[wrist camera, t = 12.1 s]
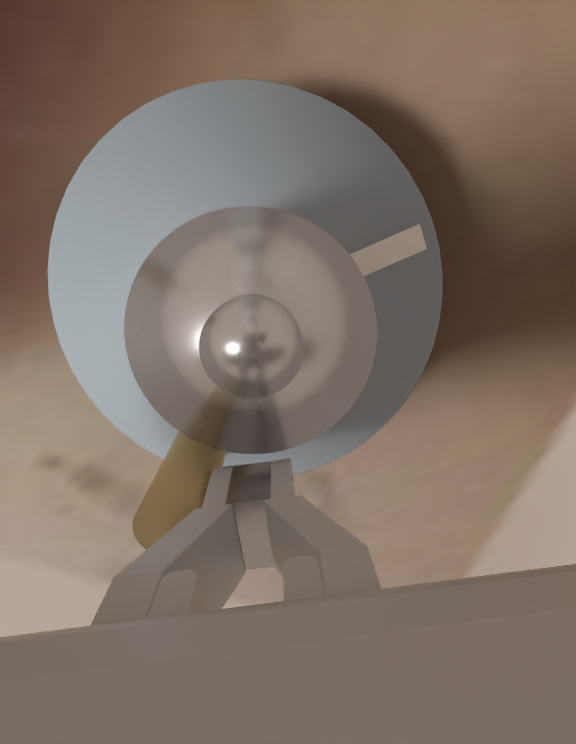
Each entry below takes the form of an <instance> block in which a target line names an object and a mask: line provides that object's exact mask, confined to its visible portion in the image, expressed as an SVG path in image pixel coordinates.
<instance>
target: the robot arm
mask: <svg viewBox="0 0 576 744" xmlns="http://www.w3.org/2000/svg"><path fill="white" fill-rule="evenodd" d="M266 567H274V568H275V570H276V571H277V573H278V574H279V575H280V577H281V578H282V579H283V581H284V601H282V602H274V603H266V604H259V605H251V606H243V607H235V608H227V609H222V607H223V606H224V604H225V603H226V601H227V600H228V598H229V597H230V595H231V594H232V592H233V591H234V589H235V588H236V586H237V584H238V583H239V581H240V580H241V578H242V577H243V575H244V574H245V570H251V569H257V568H266ZM0 744H576V564H572V565H564V566H556V567H549V568H541V569H533V570H525V571H517V572H509V573H501V574H494V575H486V576H478V577H470V578H462V579H454V580H447V581H439V582H431V583H423V584H415V585H407V586H399V587H392V588H384V589H381V586H380V583H379V580H378V577H377V574H376V571H375V568H374V565H373V562H372V559H371V556H370V553H369V550H368V547H367V546H366V545H365V544H364V543H362V542H361V541H360V540H358V539H357V538H356V537H354V536H353V535H352V534H350V533H349V532H348V531H346V530H345V529H344V528H343V527H341V526H340V525H339V524H337V523H336V522H335V521H333V520H332V519H331V518H329V517H328V516H327V515H325V514H324V513H323V512H321V511H320V510H319V509H317V508H316V507H315V506H313V505H312V504H311V503H310V502H308V501H307V500H306V499H304V498H303V497H302V496H300V495H299V496H295V488H294V480H293V472H292V464H291V459H290V458H287V459H281V460H275V461H271V462H270V461H268V462H261V463H252V464H243V465H234V466H232V465H231V466H224V467H217V468H214V469H213V470H212V472H211V476H210V479H209V483H208V487H207V490H206V494H205V498H204V501H203V505H202V508H196V509H195V510H194V511H192V512H191V513H190V514H189V515H188V516H186V517H185V518H184V519H183V520H182V521H180V522H179V523H178V524H177V525H176V526H174V527H173V528H172V529H171V530H170V531H169V532H167V533H166V534H165V535H164V536H163V537H161V538H160V539H159V540H158V541H157V542H155V543H154V544H153V545H152V546H151V547H150V548H148V549H147V550H146V551H145V552H144V553H142V554H141V555H140V556H139V557H138V558H136V559H135V560H134V561H133V562H132V563H130V564H129V565H128V566H127V567H126V568H125V569H123V570H122V571H121V572H120V573H119V574H117V575H116V576H115V577H114V578H113V580H112V582H111V584H110V586H109V588H108V591H107V593H106V595H105V597H104V599H103V601H102V603H101V605H100V607H99V609H98V611H97V613H96V615H95V617H94V619H93V621H92V623H91V625H90V626H85V627H78V628H70V629H62V630H54V631H47V632H38V633H30V634H22V635H15V636H7V637H0Z"/></svg>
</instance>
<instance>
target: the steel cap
mask: <svg viewBox="0 0 576 744" xmlns="http://www.w3.org/2000/svg"><path fill="white" fill-rule="evenodd" d="M124 337H125V346H126V352H127V356H128V360H129V364H130V367H131V369H132V372H133V375H134V377H135V380H136V382H137V383H138V385H139V387H140V389H141V391H142V392H143V394H144V396H145V397H146V398H147V400H148V401H149V403H150V404H151V405H152V407H153V408H154V409H155V410H156V411H157V412H158V413H159V414H160V415H161V416H162V417H163V419H165V420H166V421H167V422H168V423H169V424H171V425H172V426H173V427H174V428H175V429H177V430H178V431H180V432H181V433H183V434H185V435H186V436H188V437H189V438H191V439H193V440H195V441H197V442H199V443H202V444H204V445H207V446H210V447H212V448H215V449H219V450H223V451H227V452H232V453H241V454H265V453H273V452H279V451H283V450H287V449H291V448H294V447H296V446H299V445H302V444H304V443H306V442H308V441H310V440H312V439H314V438H316V437H318V436H319V435H321V434H322V433H324V432H325V431H327V430H328V429H330V428H331V427H332V426H333V425H334V424H336V423H337V422H338V421H339V420H340V419H341V418H342V417H343V416H344V415H345V414H346V413H347V412H348V411H349V409H350V408H351V407H352V406H353V404H354V403H355V401H356V400H357V399H358V397H359V396H360V394H361V392H362V390H363V388H364V386H365V384H366V383H367V380H368V377H369V375H370V372H371V369H372V366H373V362H374V358H375V353H376V345H377V319H376V313H375V307H374V302H373V299H372V296H371V293H370V290H369V287H368V285H367V283H366V281H365V278H364V276H363V274H362V272H361V271H360V269H359V268H358V266H357V264H356V263H355V261H354V260H353V258H352V257H351V256H350V255H349V254H348V252H347V251H346V250H345V249H344V248H343V247H342V245H341V244H339V243H338V242H337V241H336V240H335V239H334V238H333V237H332V236H330V235H329V234H328V233H327V232H325V231H324V230H322V229H321V228H319V227H318V226H316V225H315V224H313V223H311V222H309V221H307V220H305V219H303V218H301V217H299V216H297V215H294V214H291V213H288V212H285V211H281V210H278V209H272V208H266V207H255V206H240V207H231V208H224V209H220V210H216V211H212V212H208V213H205V214H203V215H201V216H198V217H196V218H194V219H191V220H189V221H188V222H186V223H184V224H183V225H181V226H179V227H178V228H176V229H175V230H173V231H172V232H171V233H170V234H169V235H167V236H166V237H165V238H164V239H162V240H161V241H160V242H159V244H158V245H157V246H156V247H155V248H154V249H153V250H152V251H151V252H150V254H149V255H148V256H147V258H146V259H145V261H144V262H143V264H142V265H141V267H140V269H139V271H138V273H137V275H136V277H135V279H134V281H133V283H132V286H131V289H130V293H129V296H128V299H127V304H126V310H125V316H124Z"/></svg>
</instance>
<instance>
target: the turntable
mask: <svg viewBox="0 0 576 744" xmlns="http://www.w3.org/2000/svg"><path fill="white" fill-rule="evenodd" d="M240 206H255V207H266V208H272V209H278V210H281V211H285V212H288V213H291V214H294V215H297V216H299V217H301V218H303V219H305V220H307V221H309V222H311V223H313V224H315V225H316V226H318V227H319V228H321V229H322V230H324V231H325V232H327V233H328V234H329V235H330V236H332V237H333V238H334V239H335V240H336V241H337V242H338V243H339V244H341V245H342V247H343V248H344V249H345V250H346V251H347V252H348V254H349V255H350V256H351V257H352V258H353V260H354V261H355V263H356V264H357V266H358V268H359V269H360V271H361V272H362V274H363V276H364V278H365V281H366V283H367V285H368V287H369V290H370V293H371V296H372V299H373V302H374V307H375V313H376V319H377V345H376V353H375V358H374V362H373V366H372V369H371V372H370V375H369V377H368V380H367V383H366V384H365V386H364V388H363V390H362V392H361V394H360V396H359V397H358V399H357V400H356V401H355V403H354V404H353V406H352V407H351V408H350V409H349V411H348V412H347V413H346V414H345V415H344V416H343V417H342V418H341V419H340V420H339V421H338V422H337V423H336V424H334V425H333V426H332V427H331V428H330V429H328V430H327V431H325V432H324V433H322V434H321V435H319V436H318V437H316V438H314V439H312V440H310V441H308V442H306V443H304V444H302V445H299V446H296V447H294V448H291V449H287V450H283V451H279V452H273V453H265V454H241V453H232V452H227V451H223V450H219V449H215V448H212V447H210V446H207V445H204V444H202V443H199V442H197V441H195V440H193V439H191V438H189V437H188V436H186V435H185V434H183V433H181V432H180V431H178V430H177V429H175V428H174V427H173V426H172V425H171V424H169V423H168V422H167V421H166V420H165V419H163V417H162V416H161V415H160V414H159V413H158V412H157V411H156V410H155V409H154V408H153V407H152V405H151V404H150V403H149V401H148V400H147V398H146V397H145V396H144V394H143V392H142V391H141V389H140V387H139V385H138V383H137V382H136V380H135V377H134V375H133V372H132V369H131V367H130V364H129V360H128V356H127V352H126V346H125V337H124V316H125V310H126V304H127V299H128V296H129V293H130V289H131V286H132V283H133V281H134V279H135V277H136V275H137V273H138V271H139V269H140V267H141V265H142V264H143V262H144V261H145V259H146V258H147V256H148V255H149V254H150V252H151V251H152V250H153V249H154V248H155V247H156V246H157V245H158V244H159V242H160V241H161V240H162V239H164V238H165V237H166V236H167V235H169V234H170V233H171V232H172V231H173V230H175V229H176V228H178V227H179V226H181V225H183V224H184V223H186V222H188V221H189V220H191V219H194V218H196V217H198V216H201V215H203V214H205V213H208V212H212V211H216V210H220V209H224V208H231V207H240ZM48 287H49V300H50V305H51V311H52V316H53V322H54V325H55V329H56V332H57V335H58V338H59V341H60V345H61V348H62V350H63V352H64V354H65V356H66V359H67V361H68V363H69V365H70V367H71V370H72V371H73V373H74V375H75V376H76V378H77V380H78V381H79V383H80V384H81V386H82V388H83V389H84V391H85V393H86V394H87V395H88V396H89V398H90V399H91V400H92V401H93V403H94V404H95V405H96V406H97V408H98V409H99V410H100V411H101V412H102V413H103V414H104V415H105V416H106V417H107V418H108V419H109V420H110V421H111V422H112V423H113V424H114V425H115V426H116V427H117V428H118V429H119V430H120V431H121V432H123V433H124V434H125V435H127V436H128V437H129V438H130V439H132V440H133V441H134V442H135V443H137V444H138V445H140V446H142V447H143V448H145V449H147V450H148V451H150V452H151V453H153V454H155V455H156V456H158V457H161V458H163V459H164V460H163V462H162V464H161V466H160V468H159V470H158V472H157V474H156V476H155V478H154V480H153V481H152V483H151V485H150V487H149V489H148V491H147V493H146V495H145V497H144V499H143V501H142V503H141V504H140V506H139V508H138V510H137V512H136V514H135V516H134V519H133V532H134V535H135V537H136V539H137V541H138V542H139V543H140V544H141V546H143V547H144V548H145V549H146V550H147V549H148V548H150V547H151V546H152V545H153V544H154V543H155V542H157V541H158V540H159V539H160V538H161V537H163V536H164V535H165V534H166V533H167V532H169V531H170V530H171V529H172V528H173V527H174V526H176V525H177V524H178V523H179V522H180V521H182V520H183V519H184V518H185V517H186V516H188V515H189V514H190V513H191V512H192V511H194V510H195V509H196V508H202V505H203V501H204V498H205V494H206V490H207V487H208V483H209V479H210V476H211V472H212V470H213V469H214V468H217V467H224V466H231V465H232V466H234V465H243V464H252V463H261V462H268V461H270V462H271V461H275V460H281V459H287V458H290V459H291V464H292V472H293V474H297V473H301V472H306V471H309V470H312V469H314V468H317V467H320V466H322V465H325V464H328V463H330V462H332V461H334V460H336V459H338V458H340V457H342V456H344V455H346V454H347V453H349V452H351V451H352V450H354V449H355V448H357V447H358V446H360V445H361V444H363V443H364V442H366V441H367V440H368V439H369V438H370V437H372V436H373V435H374V434H375V433H376V432H377V431H379V430H380V429H381V428H382V427H383V426H384V425H385V424H386V423H387V422H388V421H389V420H390V419H391V418H392V417H393V416H394V414H395V413H396V412H397V411H398V410H399V409H400V407H401V406H402V405H403V403H404V402H405V401H406V399H407V398H408V396H409V395H410V394H411V392H412V391H413V389H414V387H415V385H416V384H417V382H418V380H419V378H420V376H421V375H422V373H423V371H424V369H425V366H426V364H427V361H428V359H429V356H430V354H431V351H432V349H433V345H434V342H435V338H436V334H437V330H438V327H439V321H440V314H441V307H442V293H443V273H442V264H441V256H440V248H439V244H438V240H437V236H436V232H435V228H434V224H433V221H432V218H431V216H430V213H429V211H428V208H427V206H426V203H425V201H424V198H423V196H422V194H421V192H420V191H419V189H418V187H417V185H416V183H415V182H414V180H413V178H412V176H411V175H410V173H409V171H408V170H407V169H406V167H405V166H404V165H403V163H402V162H401V161H400V159H399V158H398V157H397V155H396V154H395V153H394V151H393V150H392V149H391V148H390V147H389V146H388V145H387V144H386V143H385V142H384V141H383V140H382V139H381V138H380V137H379V136H378V135H377V134H376V133H375V132H374V131H373V130H372V129H371V128H370V127H368V126H367V125H366V124H364V123H363V122H362V121H360V120H359V119H357V118H356V117H355V116H353V115H352V114H351V113H349V112H348V111H347V110H345V109H343V108H341V107H339V106H337V105H335V104H334V103H332V102H330V101H328V100H326V99H324V98H322V97H320V96H318V95H315V94H312V93H309V92H306V91H304V90H301V89H298V88H295V87H292V86H288V85H282V84H277V83H272V82H267V81H259V80H234V79H232V80H223V81H215V82H206V83H200V84H197V85H193V86H190V87H186V88H183V89H179V90H176V91H172V92H170V93H168V94H166V95H164V96H162V97H159V98H157V99H155V100H153V101H151V102H149V103H146V104H145V105H143V106H142V107H140V108H139V109H137V110H136V111H134V112H133V113H131V114H130V115H128V116H127V117H125V118H124V119H122V120H121V121H120V122H119V123H118V124H117V125H116V126H114V127H113V128H112V129H111V130H110V131H109V132H108V133H107V134H106V135H105V136H104V137H103V138H101V139H100V140H99V142H98V143H97V144H96V145H95V147H94V148H93V149H92V150H91V152H90V153H89V154H88V155H87V157H86V158H85V159H84V160H83V162H82V163H81V165H80V166H79V168H78V170H77V172H76V173H75V175H74V177H73V179H72V180H71V182H70V184H69V186H68V187H67V189H66V192H65V194H64V197H63V200H62V202H61V205H60V207H59V210H58V212H57V215H56V219H55V224H54V228H53V232H52V236H51V241H50V250H49V261H48Z"/></svg>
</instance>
